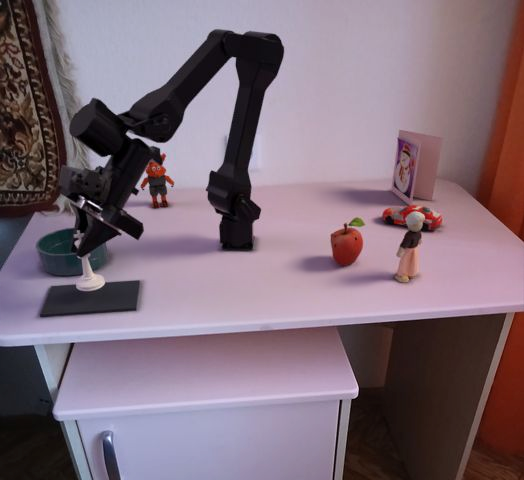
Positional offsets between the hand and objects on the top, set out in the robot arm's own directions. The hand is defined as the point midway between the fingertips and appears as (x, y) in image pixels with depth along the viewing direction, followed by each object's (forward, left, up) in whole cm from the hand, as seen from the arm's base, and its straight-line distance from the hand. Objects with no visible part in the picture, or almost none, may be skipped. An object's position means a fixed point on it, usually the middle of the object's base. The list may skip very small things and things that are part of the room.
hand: (75, 254), depth 90 cm
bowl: (+7, -15, -9) cm, 19 cm away
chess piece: (-1, -1, -6) cm, 7 cm away
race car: (-63, -36, -9) cm, 73 cm away
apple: (-47, -16, -9) cm, 51 cm away
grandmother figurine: (-58, -11, -9) cm, 60 cm away
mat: (-1, -1, -9) cm, 9 cm away
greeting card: (-66, -53, -9) cm, 85 cm away
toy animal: (-4, -45, -9) cm, 46 cm away
